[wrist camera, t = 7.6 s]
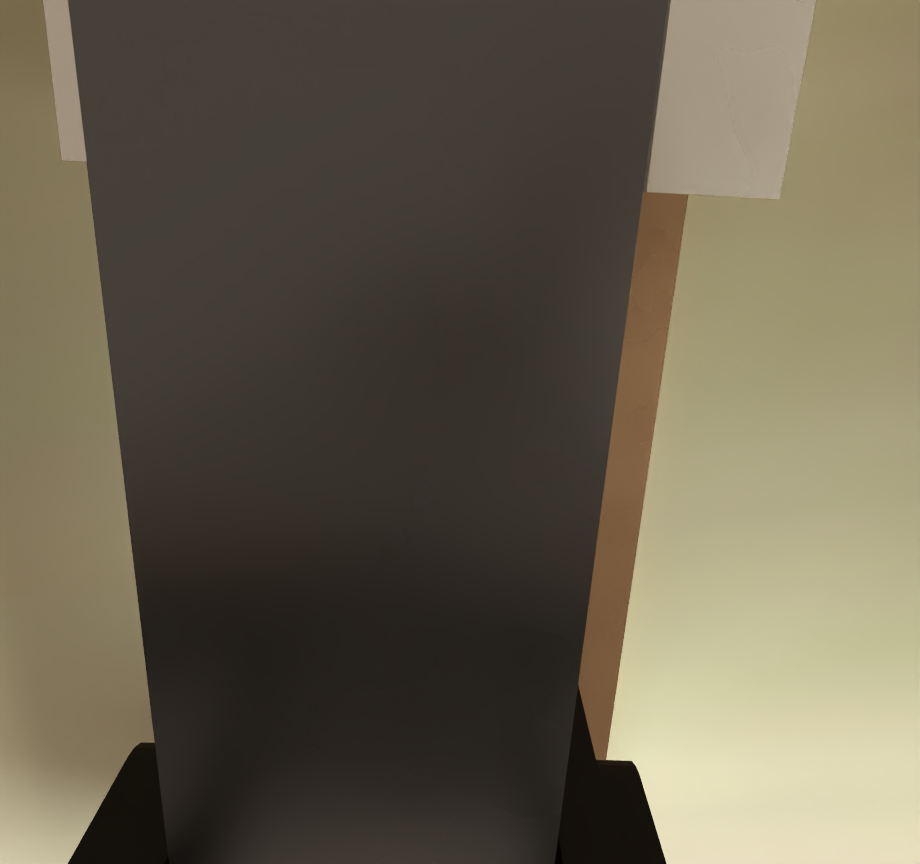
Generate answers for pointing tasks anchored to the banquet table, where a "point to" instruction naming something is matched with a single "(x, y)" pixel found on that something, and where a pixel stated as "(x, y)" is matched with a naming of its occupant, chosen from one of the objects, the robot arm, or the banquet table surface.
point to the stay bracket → (638, 243)
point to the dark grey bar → (365, 400)
